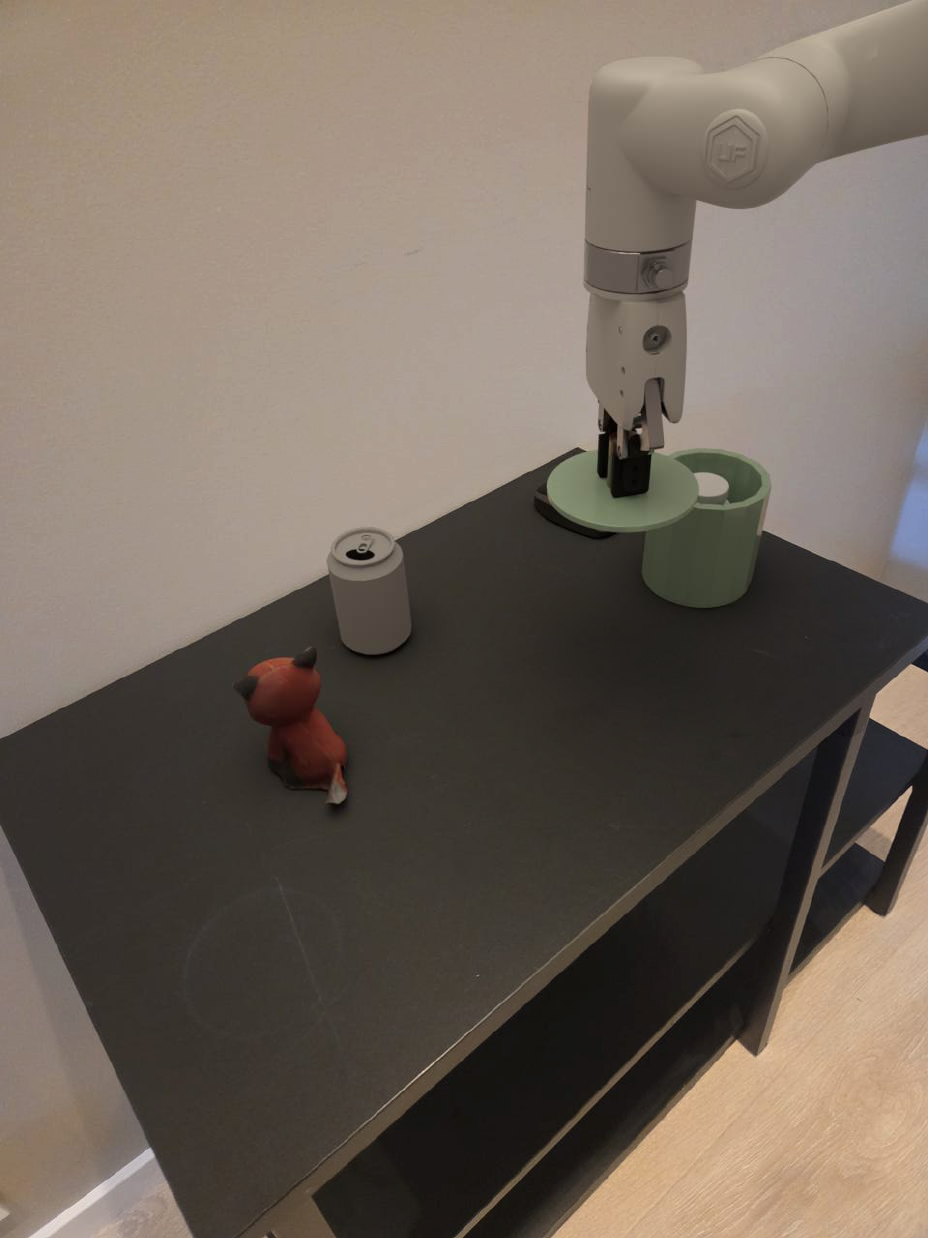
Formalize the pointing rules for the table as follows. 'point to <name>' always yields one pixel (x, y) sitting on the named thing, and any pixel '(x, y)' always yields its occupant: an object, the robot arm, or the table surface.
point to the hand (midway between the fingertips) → (622, 482)
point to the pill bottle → (712, 489)
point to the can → (369, 590)
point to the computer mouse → (553, 515)
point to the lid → (594, 507)
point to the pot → (710, 536)
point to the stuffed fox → (295, 724)
